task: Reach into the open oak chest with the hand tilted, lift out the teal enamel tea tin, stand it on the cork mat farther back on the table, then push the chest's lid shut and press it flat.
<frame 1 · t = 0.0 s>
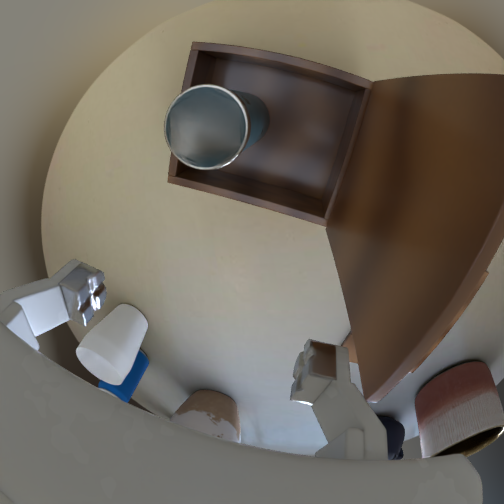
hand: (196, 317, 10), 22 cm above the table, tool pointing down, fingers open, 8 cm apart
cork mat: (412, 318, 34), on the table
planter: (451, 384, 41), on the table
teapot: (369, 424, 51), on the table
cup: (132, 317, 45), on the table
chest lid: (391, 190, 13), point 14 cm above the table, hinge at 95.0°
vase: (215, 400, 54), on the table
tea tin: (241, 118, 26), point 1 cm above the table, touching chest
chest: (271, 125, 26), on the table
beverage can: (137, 352, 51), on the table
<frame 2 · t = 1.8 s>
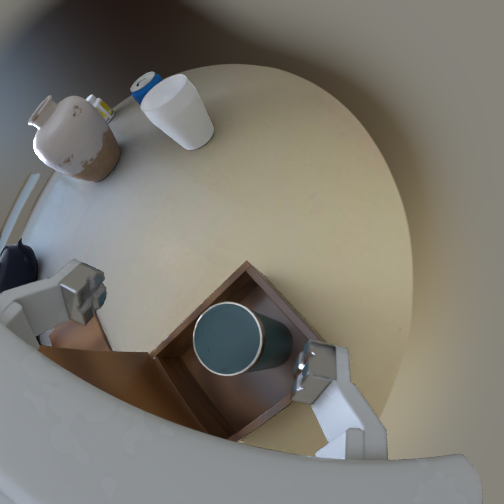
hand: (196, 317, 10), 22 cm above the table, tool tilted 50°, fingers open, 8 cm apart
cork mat: (83, 360, 40), on the table
teapot: (31, 276, 56), on the table
cup: (198, 137, 47), on the table
chest lid: (116, 416, 18), point 14 cm above the table, hinge at 95.0°
vase: (106, 164, 57), on the table
tea tin: (268, 344, 30), point 1 cm above the table, touching chest
chest: (251, 360, 31), on the table
beverage can: (174, 119, 53), on the table
supplement bottle: (108, 119, 67), on the table
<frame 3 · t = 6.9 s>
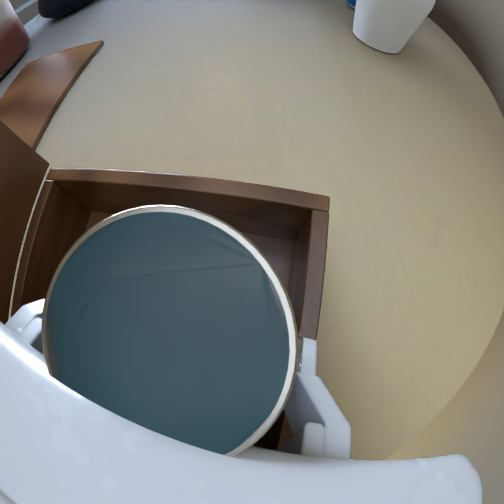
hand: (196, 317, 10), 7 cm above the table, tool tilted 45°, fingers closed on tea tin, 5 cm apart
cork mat: (19, 111, 21), on the table
teapot: (79, 4, 29), on the table
cup: (376, 40, 25), on the table
tea tin: (211, 329, 16), point 1 cm above the table, touching chest, gripper
chest: (166, 319, 16), on the table
beverage can: (364, 10, 27), on the table
when the fingers open (7 cm above the table, at t = 21.1 s): tea tin stays where it is, resting on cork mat.
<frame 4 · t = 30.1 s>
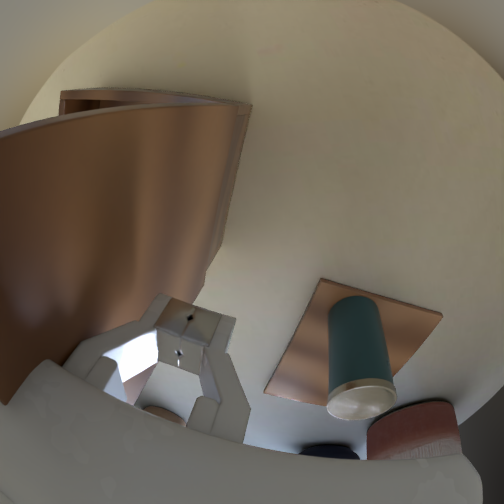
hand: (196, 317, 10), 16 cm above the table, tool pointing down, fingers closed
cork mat: (345, 361, 32), on the table
planter: (410, 420, 39), on the table
teapot: (323, 450, 49), on the table
chest lid: (148, 271, 11), point 14 cm above the table, hinge at 88.1°, touching gripper
vase: (166, 416, 52), on the table
tea tin: (353, 316, 28), point 1 cm above the table, touching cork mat
chest: (156, 161, 24), on the table
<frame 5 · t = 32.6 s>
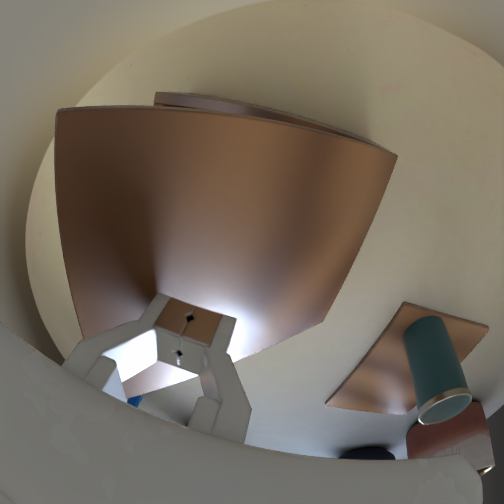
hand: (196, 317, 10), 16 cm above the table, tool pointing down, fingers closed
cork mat: (406, 371, 32), on the table
planter: (444, 420, 38), on the table
teapot: (360, 453, 49), on the table
chest lid: (259, 271, 13), point 12 cm above the table, hinge at 45.9°, touching gripper
tea tin: (423, 333, 27), point 1 cm above the table, touching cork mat
chest: (259, 186, 24), on the table
beverage can: (130, 386, 48), on the table
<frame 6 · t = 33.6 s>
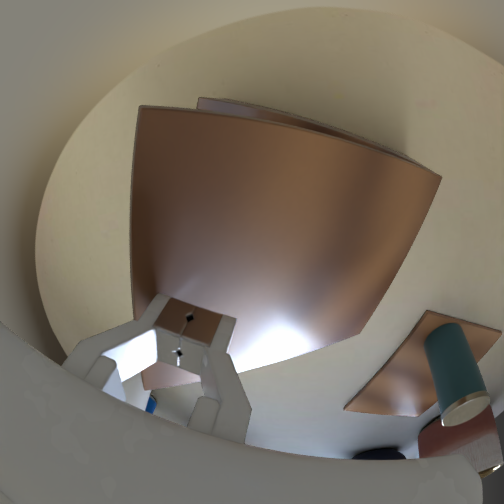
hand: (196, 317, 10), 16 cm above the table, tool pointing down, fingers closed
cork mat: (423, 375, 31), on the table
planter: (454, 420, 38), on the table
teapot: (372, 454, 48), on the table
cup: (139, 366, 42), on the table
chest lid: (308, 277, 14), point 11 cm above the table, hinge at 36.3°, touching gripper
tea tin: (443, 339, 27), point 1 cm above the table, touching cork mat
chest: (296, 198, 23), on the table
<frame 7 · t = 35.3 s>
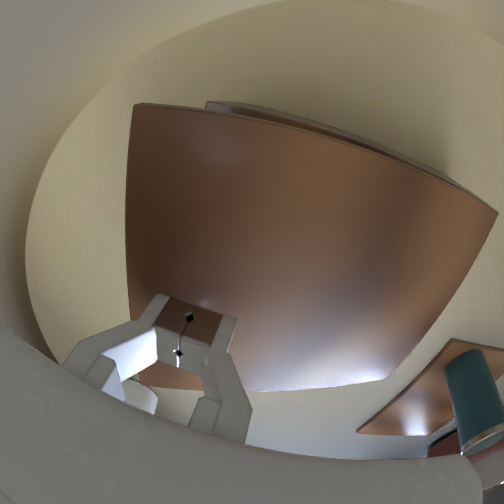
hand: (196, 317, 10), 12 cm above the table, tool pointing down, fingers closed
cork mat: (439, 398, 28), on the table
planter: (463, 435, 34), on the table
cup: (140, 389, 39), on the table
chest lid: (327, 307, 12), point 9 cm above the table, hinge at 18.7°, touching gripper
tea tin: (464, 365, 23), point 1 cm above the table, touching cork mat
chest: (322, 224, 19), on the table
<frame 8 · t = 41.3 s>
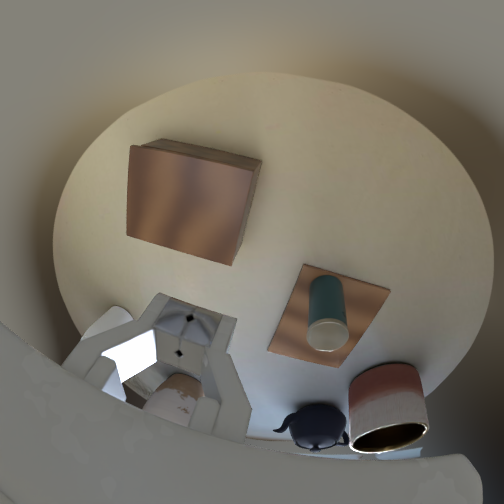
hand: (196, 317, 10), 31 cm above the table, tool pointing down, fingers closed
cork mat: (324, 323, 49), on the table
planter: (383, 382, 56), on the table
teapot: (316, 411, 66), on the table
cup: (122, 315, 60), on the table
chest lid: (181, 205, 35), point 7 cm above the table, hinge at 1.8°
vase: (187, 383, 69), on the table
tea tin: (326, 288, 45), point 1 cm above the table, touching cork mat
chest: (201, 191, 41), on the table
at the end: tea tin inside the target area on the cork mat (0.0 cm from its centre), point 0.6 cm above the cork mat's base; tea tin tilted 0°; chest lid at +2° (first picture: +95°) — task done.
